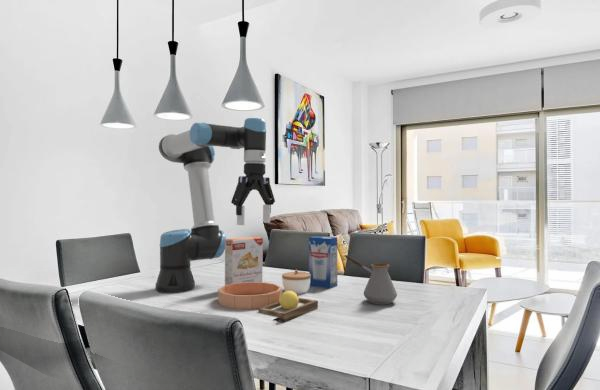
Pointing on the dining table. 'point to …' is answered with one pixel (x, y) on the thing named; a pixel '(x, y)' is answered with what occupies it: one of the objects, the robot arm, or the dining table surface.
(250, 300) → the bowl
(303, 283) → the lidded jar
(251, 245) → the cracker box
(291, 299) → the ball
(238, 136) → the robot arm
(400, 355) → the dining table surface
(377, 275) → the coffee pot
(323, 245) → the milk carton
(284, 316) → the tray
